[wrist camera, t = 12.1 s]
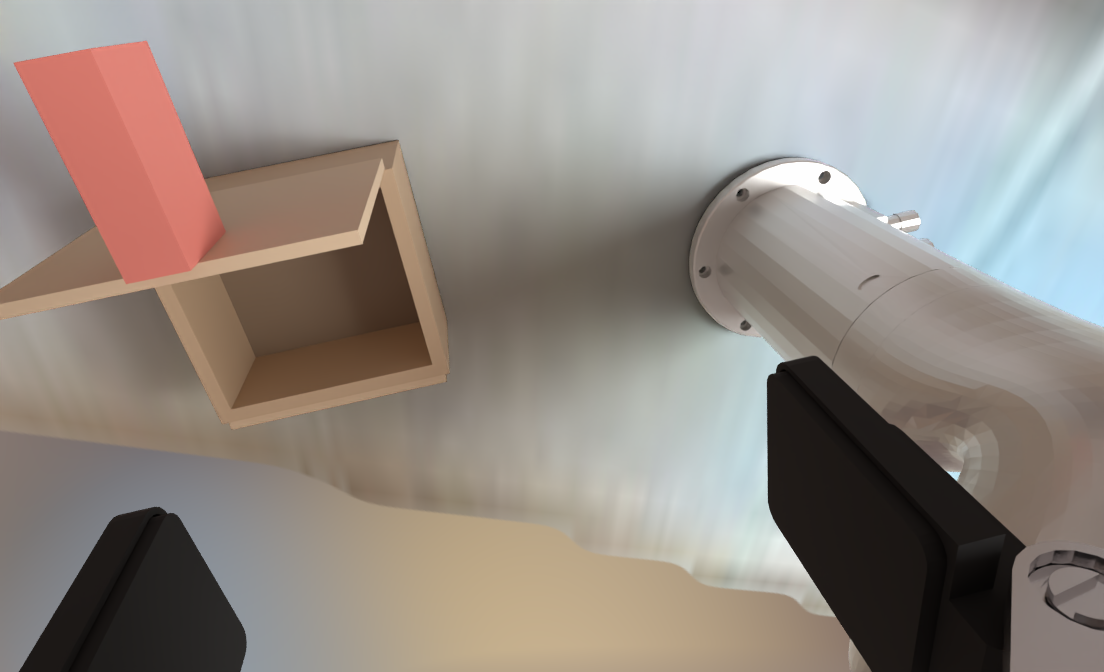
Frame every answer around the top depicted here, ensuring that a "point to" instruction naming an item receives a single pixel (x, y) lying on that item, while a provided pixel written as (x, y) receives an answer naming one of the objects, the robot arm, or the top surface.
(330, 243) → the taped cardboard box
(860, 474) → the robot arm
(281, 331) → the carton
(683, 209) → the top surface
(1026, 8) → the top surface
